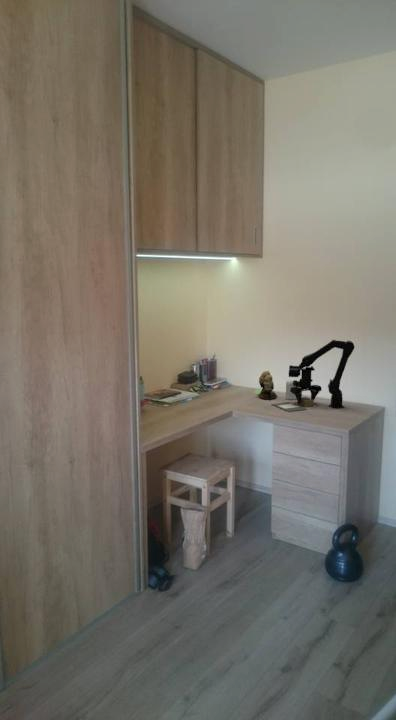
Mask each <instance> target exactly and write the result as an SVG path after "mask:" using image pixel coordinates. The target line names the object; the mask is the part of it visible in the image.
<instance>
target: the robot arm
mask: <svg viewBox="0 0 396 720" xmlns="http://www.w3.org/2000/svg"><path fill="white" fill-rule="evenodd" d="M334 348H336V349H340V350H342V353H341V357H340V361H339V363H338V366H337V369H336V371H335V374H334V377H333V379H331V378H330V379H329V383H328V385H327V388H328V392H329V394H331V395H330V397H331V398H330V404H328V407H330V408H331V407H332V408H335V409H339V408H340V409H341V408H345V405H343V400H344V399H343V391H342V390H341V389H340V386H341V379H342V377H343V373H344V371H345V369H346V365H347V363H348V361H349V358H350V356H351V355H352V353H353V352H354V350H355V345H354V342H353V341H352V340H346V341H344V340H336V339H331V341H330V342H328V343H327V344H324V346H321V347H320V348H319V349H317V350H316V351H314V352H312V353H310V354H307V355H304V356H303V357H302V359H301V362H300V363H299V364H298V365H293V364H292V365H289V367H288V378H299V377H300V376H301V378H299V380H300V381H298V382H297V380H298V379H297V380H295V381H293V386H296V387H291V389H290V392H292V393H293V394H295V396H296V398H297V399H296V401H297V405H299V404H300V402H301V396H302V397H303V393H302V394H301V391H302V392H304V391H305V392H306V391H309V393H310V399H312V400H314V401H315V399H316V397H317V396H318V394H319V393H320V392H321V391H322V386H321V385H319V384H312V383H313V379H312V372H313V371H315V369H316V368H315V367H314V366H313V364H314V363H315V362H316V360H318V359H319V358H320V357H321V356H323V355H325V354H327V353H328V352H330V351H331V350H332V349H334ZM298 387H301V388H298Z"/></svg>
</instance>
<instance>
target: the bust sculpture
mask: <svg viewBox="0 0 396 720" xmlns="http://www.w3.org/2000/svg"><path fill="white" fill-rule="evenodd" d="M258 378H259V379H258V383H259V385H260V388H261V391H260V393H258V398H259V399H260V400H271V401H274V400H276V399H277V398H278V394H277V393H276V392H275V391H274V389H275V386H274V385H275V384H274V381H273V376H272V374H271V373H270V371H269V370H265V371H263V372H262V373H261V375H260V376H259V377H258Z"/></svg>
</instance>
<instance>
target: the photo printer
mask: <svg viewBox="0 0 396 720" xmlns="http://www.w3.org/2000/svg"><path fill="white" fill-rule="evenodd" d="M295 380H297V382H298V381H300V379H297V378H295V379H287V380H286V382H285V385H286V386H285V400H297V398H296V396H295V394H293V393H292V392H290V389H291V387H296V386H293V381H295ZM298 388H301V387H298ZM301 394H302V396H301V397H303V391H301Z"/></svg>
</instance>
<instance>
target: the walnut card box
mask: <svg viewBox="0 0 396 720" xmlns="http://www.w3.org/2000/svg"><path fill="white" fill-rule="evenodd" d="M314 401H315V399H314V400H312V399H311V397H310V398H309V397H308V396H302V397H301V402H300V404H298V406H300V407H303V408H310V407H314V406H315V402H314Z"/></svg>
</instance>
